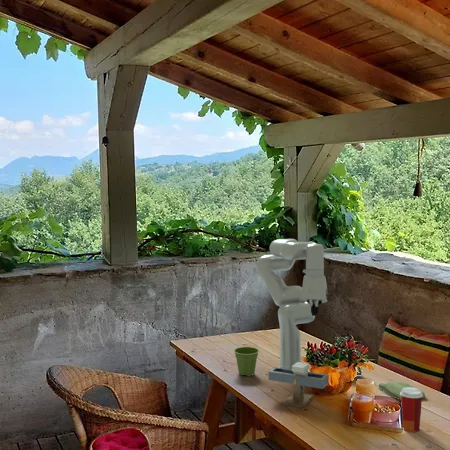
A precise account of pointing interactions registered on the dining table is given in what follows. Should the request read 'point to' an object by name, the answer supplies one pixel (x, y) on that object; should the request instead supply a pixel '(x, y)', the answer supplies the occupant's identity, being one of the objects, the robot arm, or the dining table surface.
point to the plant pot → (246, 359)
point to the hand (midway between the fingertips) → (314, 315)
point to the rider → (300, 368)
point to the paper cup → (411, 408)
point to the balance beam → (298, 384)
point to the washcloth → (395, 388)
